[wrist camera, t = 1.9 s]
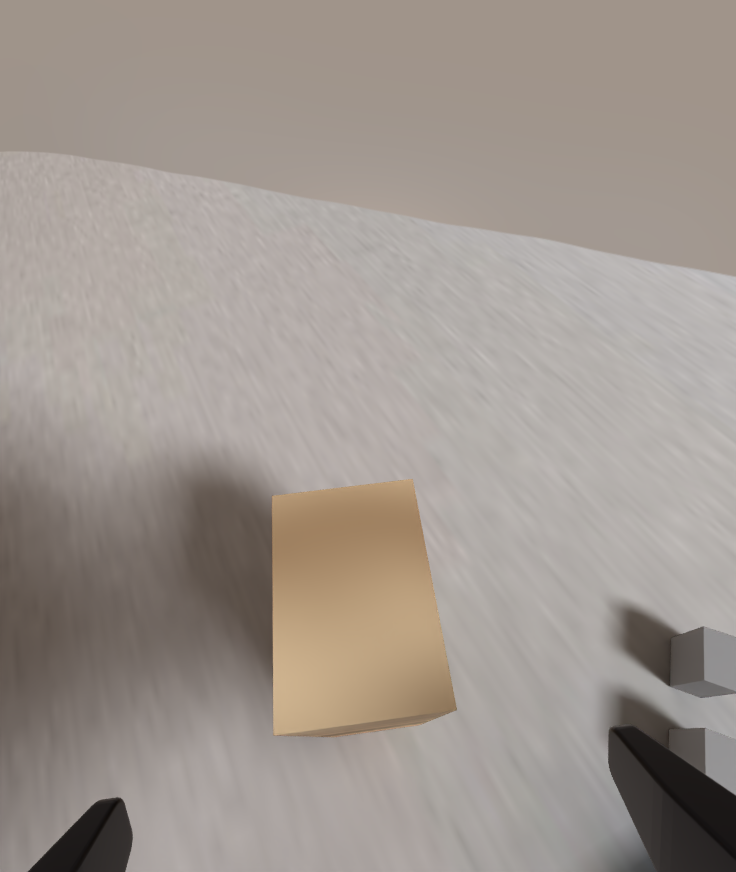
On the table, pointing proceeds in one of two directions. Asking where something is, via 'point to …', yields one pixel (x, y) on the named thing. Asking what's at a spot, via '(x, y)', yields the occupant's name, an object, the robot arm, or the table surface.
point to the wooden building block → (354, 614)
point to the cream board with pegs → (704, 677)
